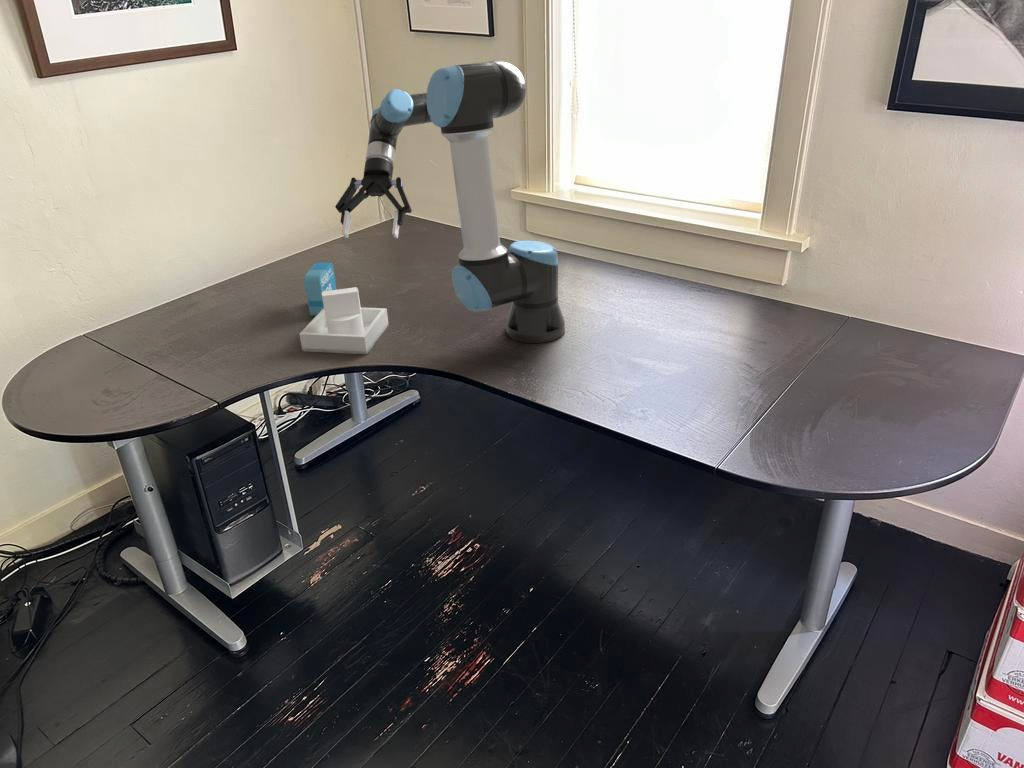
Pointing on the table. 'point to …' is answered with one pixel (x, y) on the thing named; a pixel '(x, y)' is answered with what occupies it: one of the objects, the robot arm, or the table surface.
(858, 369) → the table surface
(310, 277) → the data package
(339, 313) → the base with upright slab
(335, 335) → the bin
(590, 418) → the table surface
